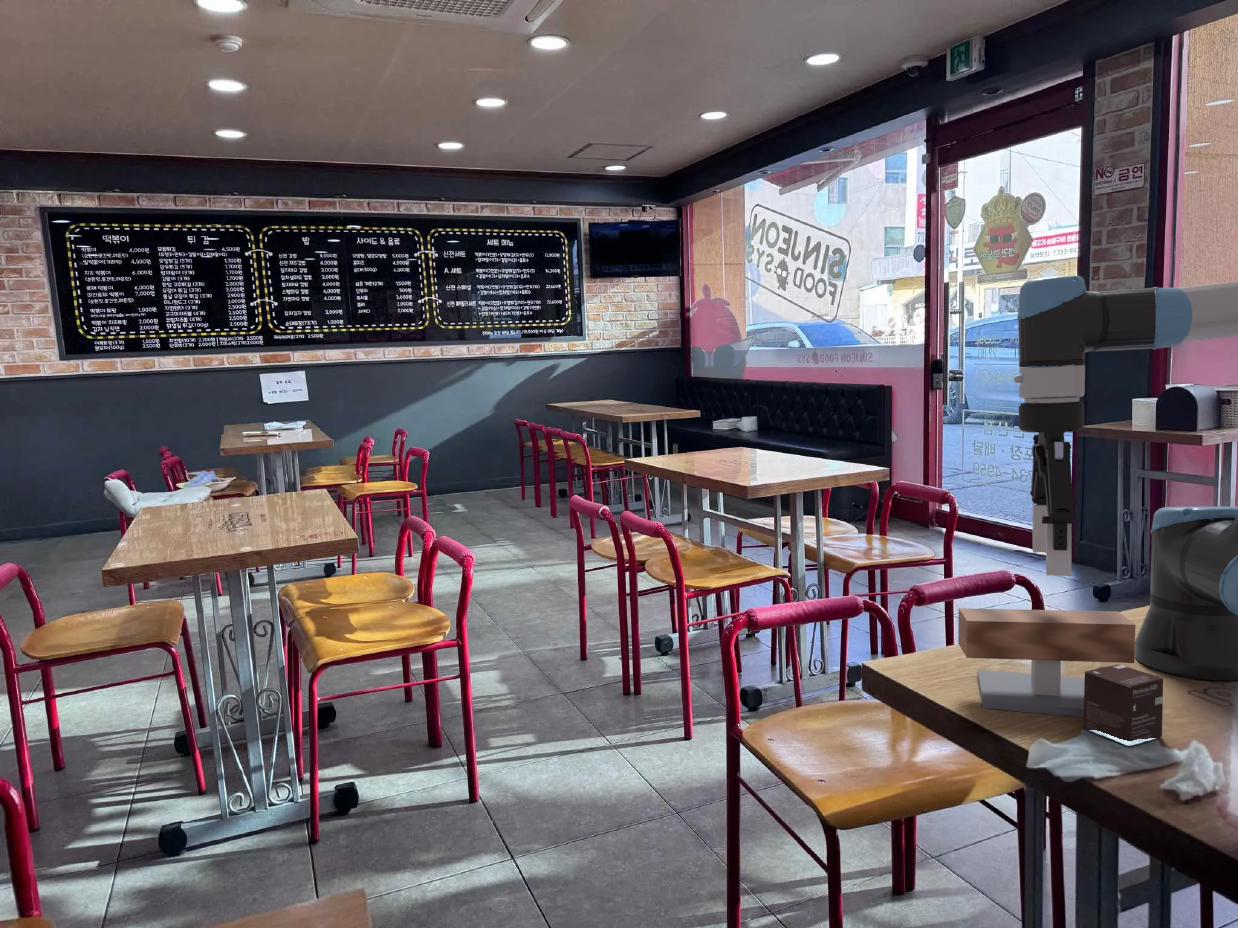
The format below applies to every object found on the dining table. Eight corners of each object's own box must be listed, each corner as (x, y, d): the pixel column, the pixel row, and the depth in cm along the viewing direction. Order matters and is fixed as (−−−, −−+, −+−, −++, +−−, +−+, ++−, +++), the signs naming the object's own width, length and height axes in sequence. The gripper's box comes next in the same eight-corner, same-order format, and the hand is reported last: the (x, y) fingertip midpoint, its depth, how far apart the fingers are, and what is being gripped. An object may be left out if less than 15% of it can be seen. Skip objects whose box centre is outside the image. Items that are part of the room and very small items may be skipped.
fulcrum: (1104, 686, 117) (1105, 643, 117) (1123, 720, 106) (1124, 673, 106) (977, 676, 123) (977, 635, 122) (983, 707, 111) (983, 662, 111)
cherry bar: (1116, 647, 115) (1117, 611, 114) (1134, 662, 109) (1135, 624, 108) (958, 643, 119) (958, 608, 118) (966, 657, 113) (967, 620, 112)
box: (1127, 748, 99) (1129, 686, 98) (1081, 729, 104) (1082, 670, 103) (1163, 738, 101) (1165, 677, 100) (1115, 720, 107) (1117, 662, 106)
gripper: (1009, 397, 123) (1010, 543, 125) (1030, 406, 100) (1030, 585, 102) (1068, 395, 121) (1067, 543, 123) (1103, 403, 97) (1102, 587, 100)
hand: (1050, 563), depth 112 cm, fingers open, 13 cm apart
